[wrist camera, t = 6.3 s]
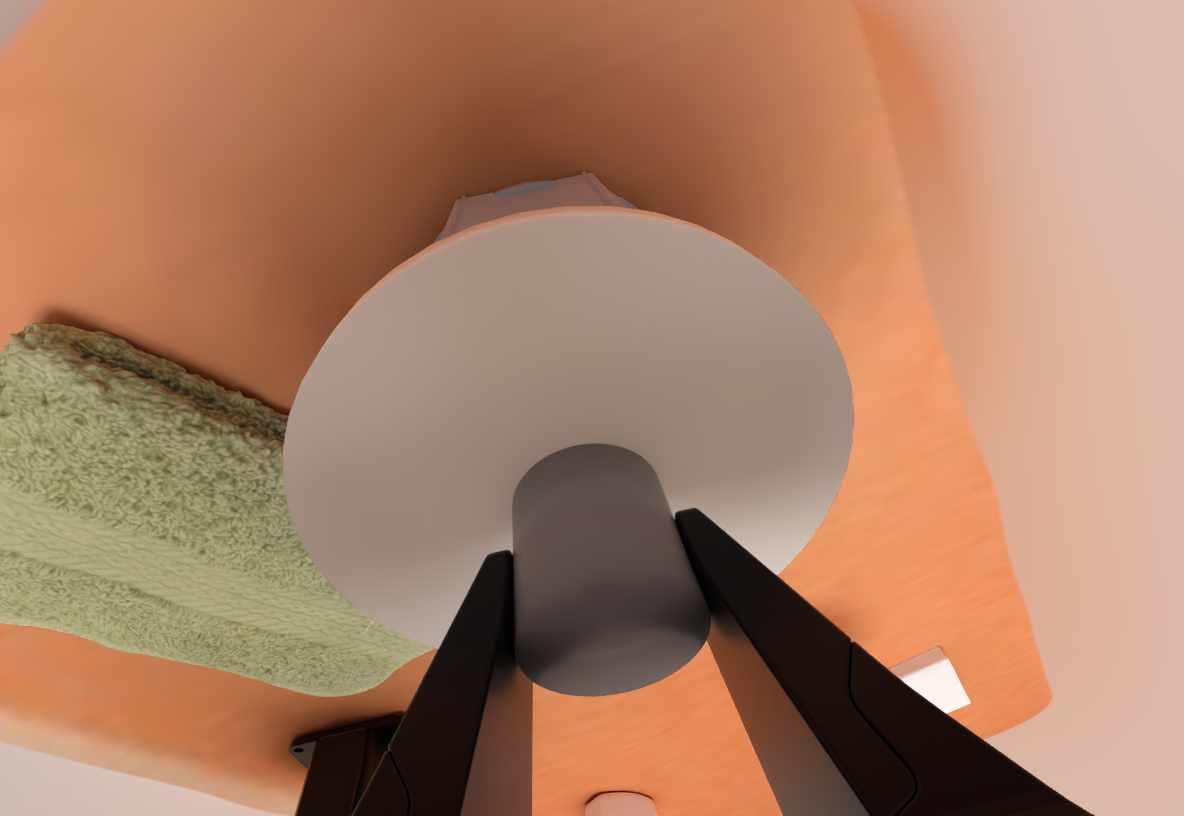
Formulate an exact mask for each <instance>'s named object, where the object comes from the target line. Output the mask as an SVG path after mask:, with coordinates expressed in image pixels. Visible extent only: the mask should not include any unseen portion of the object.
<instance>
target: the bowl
mask: <svg viewBox="0 0 1184 816" xmlns="http://www.w3.org/2000/svg"><path fill="white" fill-rule="evenodd" d="M562 206H615V207H622V208H630V209H637V210H640V209H639V208H637V207H636V206H634V205H633V204H631V203H630V202H628V201H627V200H625V199H624V198H622V197H620V196H618V195H616V194H614V193H612V192H611V191H610V190H608V189H607V188H606V187H605V186H604V185H603V184H602V183H601V182H600V181H599V180H598V179H597V177H596V176H595V175H594V174H593V173H592V172H591V173H586V172H585V171H584V170H583V172H582V173H581V175H576V176H571V177H566V178H561V179H556V180H537V181H529V182H523V183H519V184H515V185H512V186H508V187H504V188H502V189H499V190H497V191H495V192H491V193H486V194H481V195H476V196H471V197H466V196H465V195H462V197H461V199H456V201H455V203H454V206H453V208H452V211H451V213H450V216H449V218H448V221H447V223H446V226H445V228H444V229H443V230H442V231H441V232H440V233H439V235H438V236H437V238H436V239H435V241H434V242H433V244H434V243H436V242H438V241H440V240H443V239H445V238H447V237H449V236H452V235H454V234H456V233H458V232H461V231H463V230H465V229H467V228H470V227H472V226H474V225H478V224H481V223H485V222H488V221H492V220H495V219H498V218H502V217H505V216H509V215H512V214H516V213H520V212H527V211H534V210H541V209H548V208H555V207H562Z"/></svg>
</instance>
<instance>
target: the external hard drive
mask: <svg viewBox="0 0 1184 816" xmlns="http://www.w3.org/2000/svg"><path fill="white" fill-rule="evenodd" d="M888 670H890V671H891V672H892V673H893V674H895V675H896V676H897V677H898V678H900V679H901V680H902V681H903V682H905V683H906V684H907V685H908V686H910V687H911V688H912V689H914V690H915V691H916V692H918V693H919V694H920V695H922V696H923V697H924V698H926V699H927V700H928V701H930V702H931V703H933V704H934V705H935V706H937V707H938V708H939V709H941V710H942V711H943V712H945V713H946V714H947V713H949V712H951V711H954V710H956V709H958V708H961V707H963V706H966V705H968V704H970V703H971V702H970V700H969V698H968V696H967V694H966V692H965V690H964V688H963V686H962V684H961V682H960V680H959V678H958V676H957V674H956V672H955V670H954V668H953V666H952V664H951V662H950V661H949V659H948V658H947V656H946V655H945V654H944V652H943V651H942V650H941V648H940V647H939V646H937V647H935V648H933V649H931V650H929V651H926V652H924V653H922V654H920V655H918V656H916V657H913V658H911V659H909V660H907V661H905V662H902V663H900V664H898V665H896V666H894V667H892V668H889V669H888Z"/></svg>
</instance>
